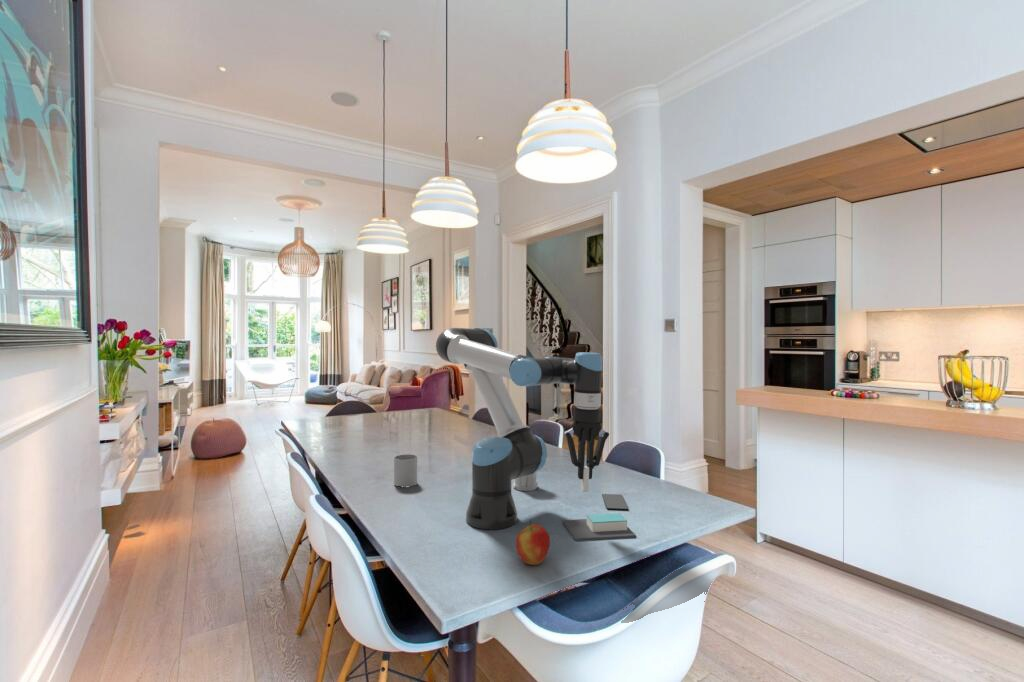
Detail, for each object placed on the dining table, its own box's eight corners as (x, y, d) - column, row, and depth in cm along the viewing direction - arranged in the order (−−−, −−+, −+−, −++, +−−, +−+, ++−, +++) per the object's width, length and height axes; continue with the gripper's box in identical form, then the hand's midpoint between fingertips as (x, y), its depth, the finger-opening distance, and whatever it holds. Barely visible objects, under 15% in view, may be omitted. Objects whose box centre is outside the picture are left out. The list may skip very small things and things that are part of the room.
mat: (575, 540, 125) (575, 538, 125) (562, 522, 138) (562, 520, 138) (635, 537, 128) (635, 535, 128) (617, 519, 140) (618, 517, 140)
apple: (543, 573, 107) (544, 529, 107) (510, 566, 110) (511, 524, 110) (553, 558, 115) (554, 517, 115) (522, 552, 118) (523, 512, 118)
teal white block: (592, 522, 129) (627, 520, 131) (586, 514, 135) (619, 513, 136) (592, 531, 129) (627, 530, 131) (586, 524, 135) (619, 522, 136)
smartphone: (621, 494, 163) (628, 508, 148) (621, 496, 163) (628, 511, 148) (601, 493, 163) (606, 508, 148) (601, 496, 163) (606, 511, 148)
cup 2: (505, 486, 172) (505, 453, 172) (523, 481, 178) (523, 449, 178) (524, 493, 164) (525, 458, 164) (543, 487, 170) (543, 454, 170)
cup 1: (411, 488, 169) (412, 460, 169) (390, 486, 170) (390, 459, 170) (420, 481, 177) (420, 454, 177) (399, 480, 179) (399, 453, 179)
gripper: (568, 409, 128) (565, 495, 128) (614, 409, 130) (611, 494, 130) (561, 404, 135) (558, 486, 136) (604, 405, 137) (601, 485, 138)
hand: (584, 490), depth 133 cm, fingers closed
